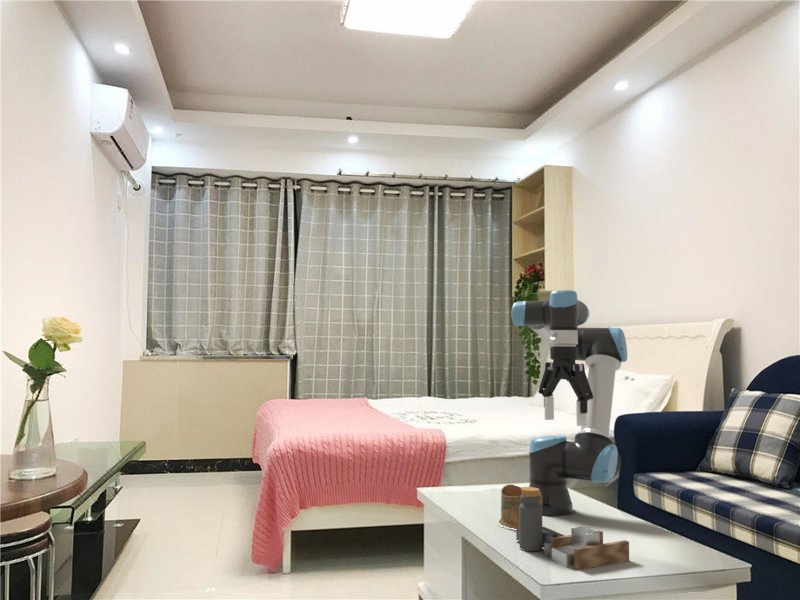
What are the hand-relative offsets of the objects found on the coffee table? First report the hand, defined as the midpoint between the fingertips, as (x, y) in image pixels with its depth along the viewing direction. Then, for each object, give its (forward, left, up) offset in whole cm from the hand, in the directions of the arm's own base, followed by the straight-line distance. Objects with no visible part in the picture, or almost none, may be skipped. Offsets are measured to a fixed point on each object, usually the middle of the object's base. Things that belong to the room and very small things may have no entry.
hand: (564, 422), depth 171 cm
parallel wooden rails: (+6, +16, -31) cm, 35 cm away
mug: (+5, -12, -31) cm, 34 cm away
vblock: (+10, +4, -31) cm, 33 cm away
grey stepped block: (+10, +16, -31) cm, 36 cm away
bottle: (+15, +4, -31) cm, 35 cm away
